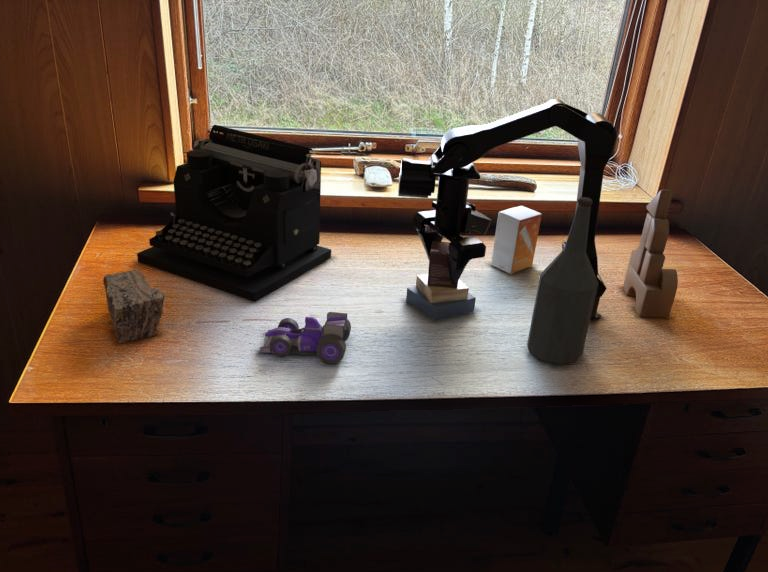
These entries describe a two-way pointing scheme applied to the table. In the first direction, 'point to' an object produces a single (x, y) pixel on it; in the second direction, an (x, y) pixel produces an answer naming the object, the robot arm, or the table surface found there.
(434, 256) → the box
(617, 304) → the table surface
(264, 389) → the table surface
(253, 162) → the typewriter
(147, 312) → the stone block
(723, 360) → the table surface
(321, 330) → the toy race car
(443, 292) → the stack top
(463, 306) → the stack base
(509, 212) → the small box
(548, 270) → the bottle
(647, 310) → the wooden toy
